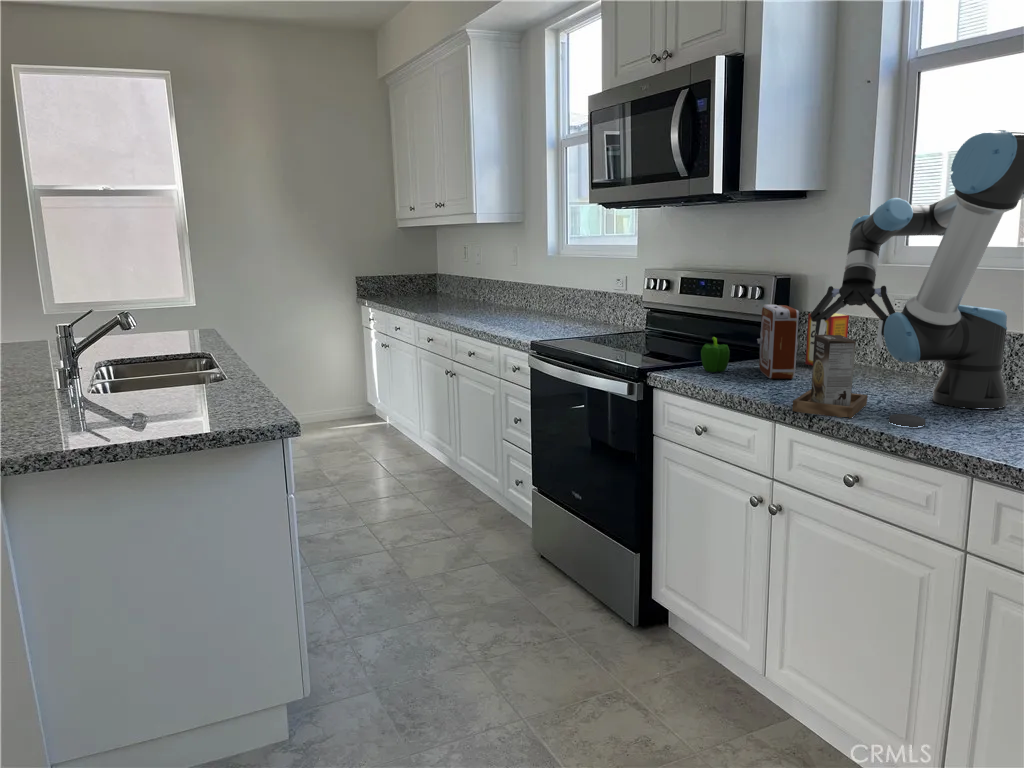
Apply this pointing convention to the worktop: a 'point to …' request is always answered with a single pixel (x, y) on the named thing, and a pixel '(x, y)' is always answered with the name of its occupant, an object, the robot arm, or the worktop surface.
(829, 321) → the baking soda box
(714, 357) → the bell pepper
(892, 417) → the lens cap
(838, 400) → the coffee box
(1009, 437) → the worktop surface
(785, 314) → the vintage travel case
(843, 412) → the tray
